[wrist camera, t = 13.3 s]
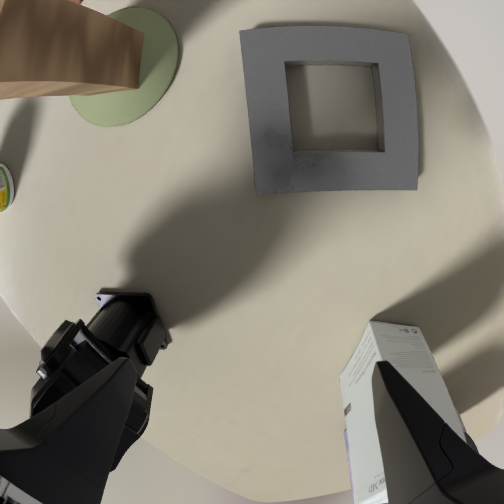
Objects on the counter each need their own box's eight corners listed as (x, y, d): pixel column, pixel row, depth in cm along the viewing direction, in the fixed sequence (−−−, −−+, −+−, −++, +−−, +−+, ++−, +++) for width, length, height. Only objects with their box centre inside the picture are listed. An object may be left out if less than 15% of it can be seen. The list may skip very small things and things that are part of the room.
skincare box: (368, 318, 23) (410, 474, 10) (422, 324, 23) (478, 458, 10) (337, 379, 27) (348, 511, 14) (386, 382, 27) (411, 501, 14)
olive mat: (75, 139, 19) (73, 140, 19) (69, 36, 15) (66, 35, 15) (184, 110, 18) (182, 110, 17) (174, -7, 14) (173, -9, 13)
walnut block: (138, 89, 17) (-13, 83, 5) (90, 95, 17) (-53, 108, 6) (144, 33, 15) (10, -17, 3) (95, 44, 15) (-39, 24, 4)
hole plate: (258, 189, 20) (256, 194, 18) (242, 36, 15) (239, 30, 14) (408, 185, 18) (417, 190, 17) (400, 39, 14) (407, 34, 12)
